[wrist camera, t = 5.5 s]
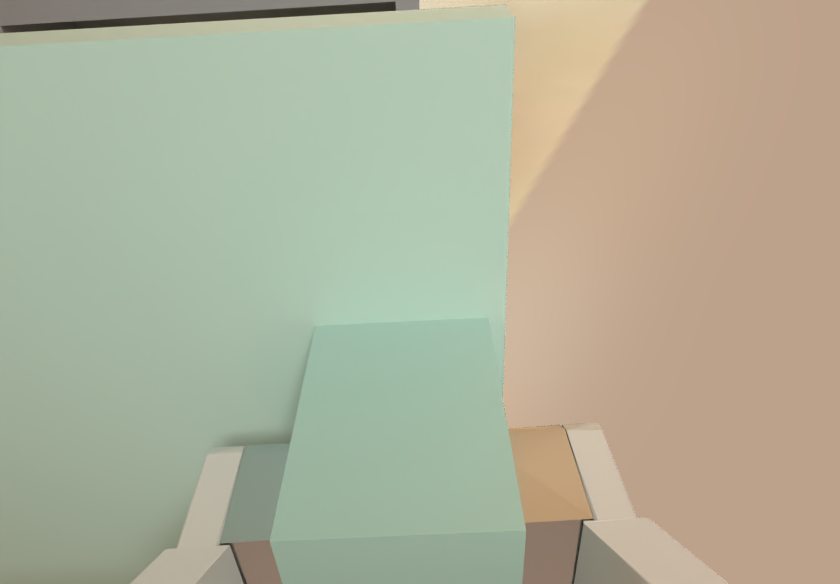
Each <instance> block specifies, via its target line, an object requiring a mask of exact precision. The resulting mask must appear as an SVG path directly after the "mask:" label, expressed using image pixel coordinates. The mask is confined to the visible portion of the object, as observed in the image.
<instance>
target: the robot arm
mask: <svg viewBox="0 0 840 584" xmlns="http://www.w3.org/2000/svg"><path fill="white" fill-rule="evenodd" d="M508 431H509V437H510V442H511V448H512V454H513V459H514V465H515V470H516V476H517V482H518V487H519V493H520V498H521V504H522V510H523V515H524V521H525V526H526V540H525V554H524V568H523V582H522V584H729V583H728V582H726V581H725V580H724V579H723V578H721V577H720V576H719V575H718V574H716V573H715V572H714V571H713V570H712V569H711V568H709V567H708V566H707V565H706V564H704V563H703V562H702V561H701V560H700V559H698V558H697V557H696V556H695V555H693V554H692V553H691V552H690V551H689V550H687V549H686V548H685V547H684V546H682V545H681V544H680V543H679V542H677V541H676V540H675V539H674V538H673V537H671V536H670V535H669V534H668V533H667V532H665V531H664V530H663V529H662V528H660V527H659V526H658V525H657V524H656V523H654V522H653V521H652V520H651V519H649V518H648V517H636V514H635V512H634V509H633V507H632V504H631V502H630V499H629V496H628V494H627V491H626V489H625V486H624V484H623V481H622V479H621V476H620V474H619V471H618V468H617V466H616V463H615V461H614V458H613V456H612V453H611V451H610V448H609V446H608V443H607V441H606V438H605V435H604V433H603V430H602V428H601V427H600V426H599V425H598V424H597V423H596V422H594V423H580V424H566V425H562V426H560V425H550V426H538V427H524V428H511V429H508ZM289 447H290V443H287V444H263V445H247V446H228V447H212V449H211V450H210V451H209V453H208V454H207V455H206V457H205V460H204V463H203V466H202V469H201V473H200V476H199V479H198V482H197V485H196V488H195V491H194V494H193V497H192V501H191V504H190V507H189V510H188V513H187V516H186V519H185V522H184V525H183V529H182V532H181V535H180V538H179V541H178V544H177V547H176V548H173V549H165V550H164V551H163V552H162V553H161V554H160V555H159V556H158V557H157V558H156V559H155V560H154V561H153V562H152V563H151V564H150V565H149V566H148V567H147V568H146V569H145V570H144V571H143V572H141V573H140V574H139V575H138V576H137V577H136V578H135V579H134V580H133V581H132V582H131V583H130V584H282V581H281V577H280V574H279V571H278V568H277V564H276V561H275V558H274V554H273V551H272V548H271V545H270V537H271V532H272V528H273V523H274V518H275V513H276V509H277V504H278V499H279V495H280V490H281V485H282V480H283V476H284V471H285V466H286V461H287V457H288V452H289Z"/></svg>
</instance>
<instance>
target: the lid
mask: <svg viewBox="0 0 840 584" xmlns="http://www.w3.org/2000/svg"><path fill="white" fill-rule="evenodd" d="M514 44H515V16H514V15H513V13H512V12H511V11H510V9H509V8H508V7H507V6H506V5H490V6H472V7H455V8H437V9H420V10H402V11H385V12H367V13H349V14H332V15H314V16H297V17H279V18H262V19H244V20H227V21H209V22H191V23H174V24H156V25H139V26H121V27H104V28H86V29H69V30H51V31H33V32H16V33H0V584H130V583H131V582H132V581H133V580H134V579H135V578H136V577H137V576H138V575H139V574H140V573H141V572H143V571H144V570H145V569H146V568H147V567H148V566H149V565H150V564H151V563H152V562H153V561H154V560H155V559H156V558H157V557H158V556H159V555H160V554H161V553H162V552H163V551H164V550H165V549H173V548H176V547H177V544H178V541H179V538H180V535H181V532H182V529H183V525H184V522H185V519H186V516H187V513H188V510H189V507H190V504H191V501H192V497H193V494H194V491H195V488H196V485H197V482H198V479H199V476H200V473H201V469H202V466H203V463H204V460H205V457H206V455H207V454H208V453H209V451H210V450H211V449H212V447H228V446H247V445H263V444H287V443H290V447H289V452H288V457H287V461H286V466H285V471H284V476H283V480H282V485H281V490H280V495H279V499H278V504H277V509H276V513H275V518H274V523H273V528H272V532H271V537H270V545H271V548H272V551H273V554H274V558H275V561H276V564H277V568H278V571H279V574H280V577H281V581H282V584H522V582H523V568H524V554H525V540H526V526H525V521H524V515H523V510H522V504H521V498H520V493H519V487H518V482H517V476H516V470H515V465H514V459H513V454H512V448H511V442H510V437H509V431H508V426H507V420H506V415H505V409H504V403H503V379H504V377H503V376H504V349H505V319H506V318H505V316H506V288H507V287H506V286H507V258H508V255H507V254H508V227H509V197H510V166H511V135H512V105H513V74H514Z"/></svg>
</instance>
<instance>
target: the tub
mask: <svg viewBox="0 0 840 584" xmlns="http://www.w3.org/2000/svg"><path fill="white" fill-rule="evenodd" d="M402 10H419V0H0V33H16V32H33V31H51V30H69V29H86V28H104V27H121V26H139V25H156V24H174V23H191V22H209V21H227V20H244V19H262V18H279V17H297V16H314V15H332V14H349V13H367V12H385V11H402Z"/></svg>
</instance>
